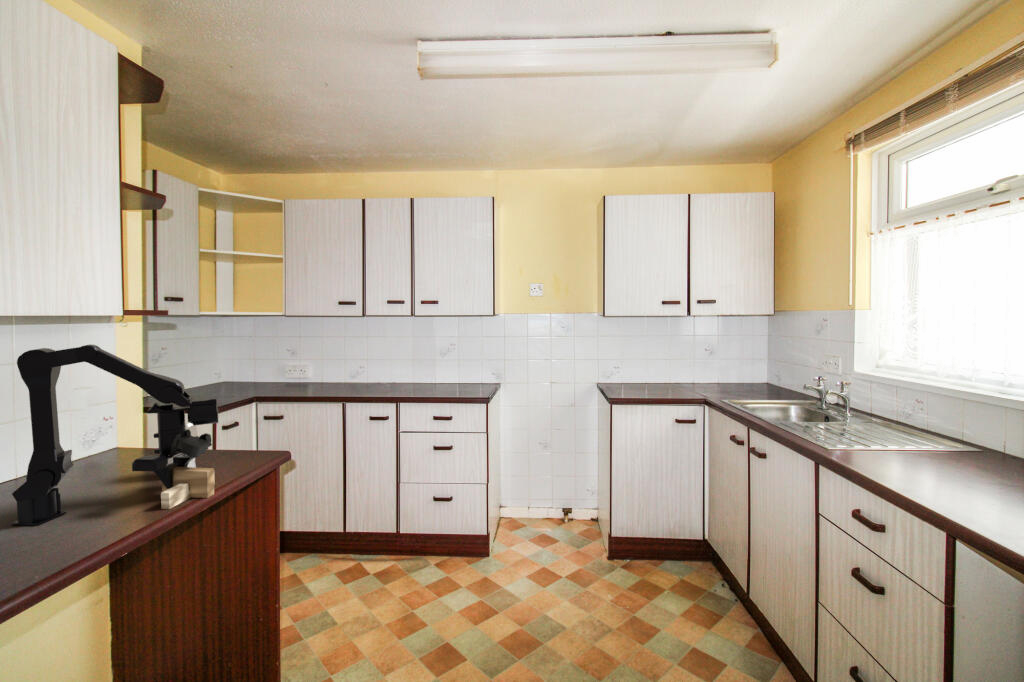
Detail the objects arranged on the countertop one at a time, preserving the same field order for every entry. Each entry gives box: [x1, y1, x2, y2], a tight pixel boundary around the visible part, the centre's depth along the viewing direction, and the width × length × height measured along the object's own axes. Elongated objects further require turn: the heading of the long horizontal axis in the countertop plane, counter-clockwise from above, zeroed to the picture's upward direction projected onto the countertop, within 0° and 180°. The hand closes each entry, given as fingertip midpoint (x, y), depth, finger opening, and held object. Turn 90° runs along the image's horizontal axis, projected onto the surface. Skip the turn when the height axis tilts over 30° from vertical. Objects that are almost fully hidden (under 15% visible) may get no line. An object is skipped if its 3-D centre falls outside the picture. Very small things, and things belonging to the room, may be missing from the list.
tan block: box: [161, 467, 215, 499], centre depth 116 cm, size 2×12×7 cm, turn 89°
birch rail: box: [160, 477, 216, 510], centre depth 117 cm, size 16×2×4 cm, turn 179°
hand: (174, 486), depth 117 cm, fingers open, 3 cm apart
